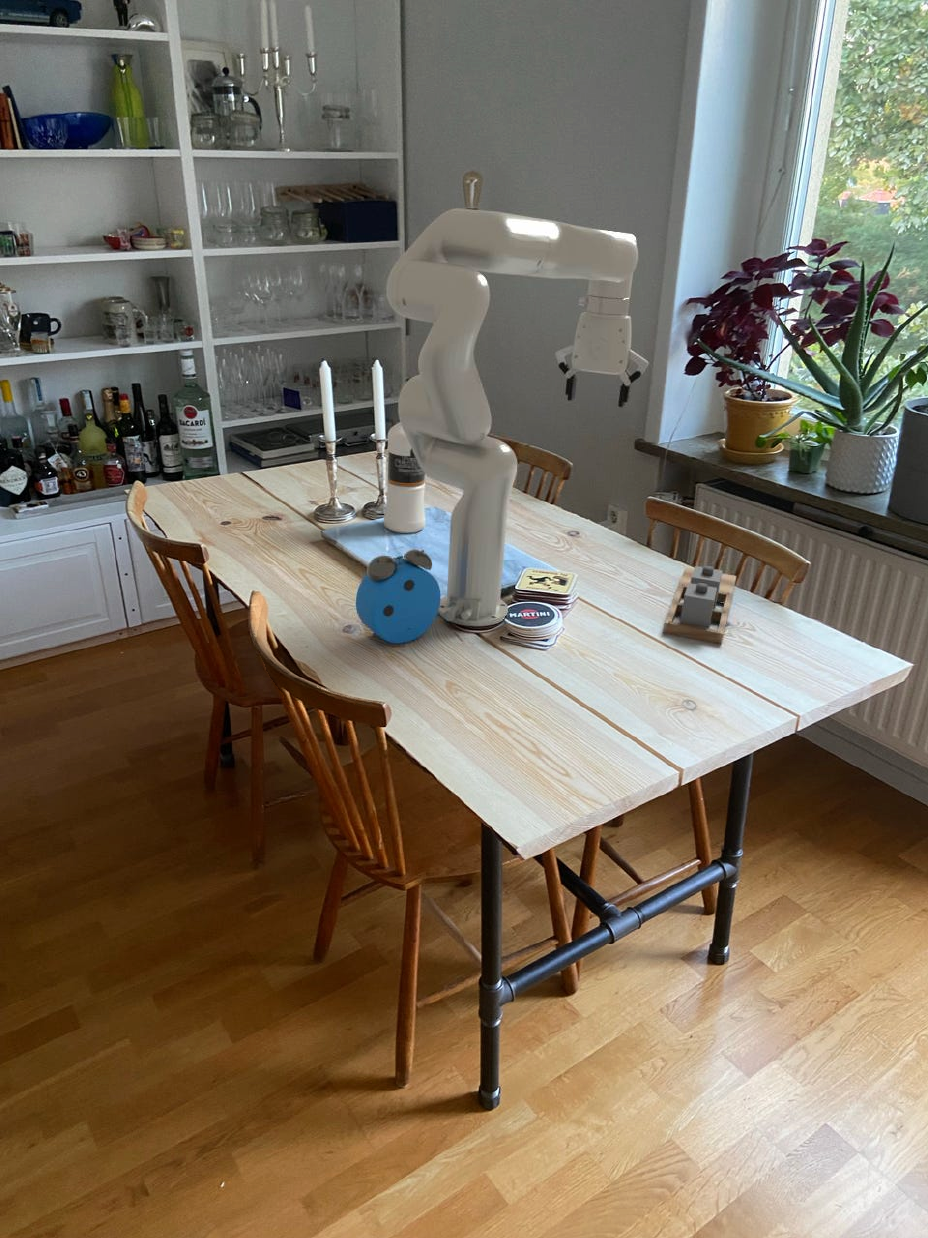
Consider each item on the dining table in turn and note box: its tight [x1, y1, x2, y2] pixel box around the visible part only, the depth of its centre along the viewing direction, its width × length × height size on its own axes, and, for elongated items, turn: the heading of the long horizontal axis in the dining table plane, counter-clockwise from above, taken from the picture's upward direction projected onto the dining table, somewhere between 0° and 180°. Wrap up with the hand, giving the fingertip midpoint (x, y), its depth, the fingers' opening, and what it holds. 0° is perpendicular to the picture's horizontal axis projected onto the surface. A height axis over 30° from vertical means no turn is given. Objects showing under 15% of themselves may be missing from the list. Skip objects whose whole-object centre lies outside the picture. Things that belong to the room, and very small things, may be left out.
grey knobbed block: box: [691, 565, 724, 609], centre depth 168 cm, size 6×5×8 cm
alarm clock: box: [355, 549, 442, 644], centre depth 148 cm, size 13×6×15 cm, turn 125°
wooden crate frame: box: [662, 566, 737, 645], centre depth 169 cm, size 28×10×3 cm, turn 160°
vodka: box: [383, 422, 427, 534], centre depth 193 cm, size 9×9×30 cm
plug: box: [679, 583, 717, 629], centre depth 160 cm, size 6×5×8 cm
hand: (596, 402), depth 170 cm, fingers open, 9 cm apart
